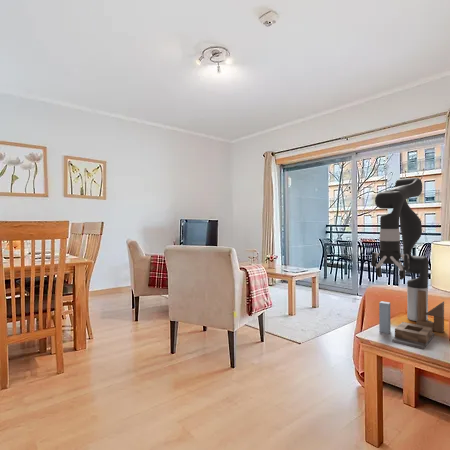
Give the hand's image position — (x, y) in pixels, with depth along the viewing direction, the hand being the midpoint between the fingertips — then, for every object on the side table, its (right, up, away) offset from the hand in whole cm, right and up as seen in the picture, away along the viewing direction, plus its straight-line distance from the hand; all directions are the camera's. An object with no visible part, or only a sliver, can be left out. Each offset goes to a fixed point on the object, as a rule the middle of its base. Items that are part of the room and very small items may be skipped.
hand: (390, 278), depth 133 cm
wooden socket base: (+15, -29, +9) cm, 34 cm away
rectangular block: (+7, -28, +18) cm, 34 cm away
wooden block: (+29, -28, +19) cm, 45 cm away
